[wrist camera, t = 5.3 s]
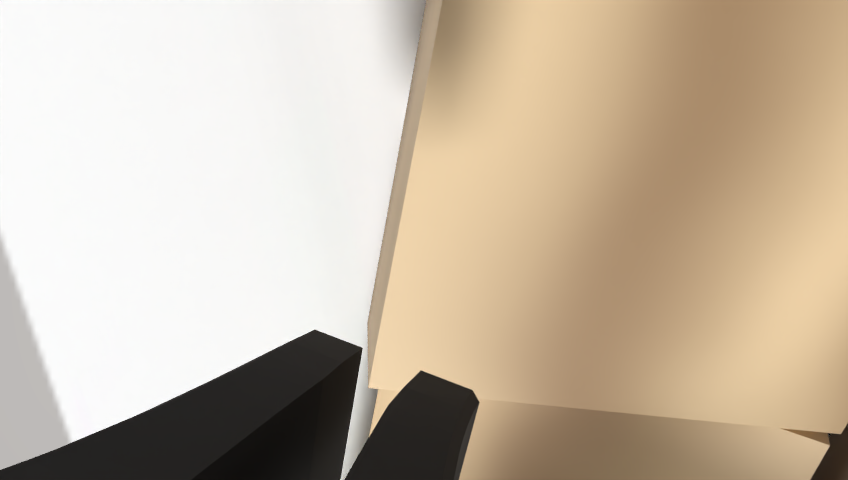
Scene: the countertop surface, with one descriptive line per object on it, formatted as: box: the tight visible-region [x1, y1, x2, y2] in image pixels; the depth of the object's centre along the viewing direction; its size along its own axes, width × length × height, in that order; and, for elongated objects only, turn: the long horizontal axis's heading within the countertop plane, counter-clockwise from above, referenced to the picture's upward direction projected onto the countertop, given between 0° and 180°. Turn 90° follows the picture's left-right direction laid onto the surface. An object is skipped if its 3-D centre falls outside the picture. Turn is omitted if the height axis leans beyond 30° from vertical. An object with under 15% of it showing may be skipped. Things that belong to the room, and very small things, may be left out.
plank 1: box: [367, 0, 848, 434], centre depth 13 cm, size 9×11×2 cm
